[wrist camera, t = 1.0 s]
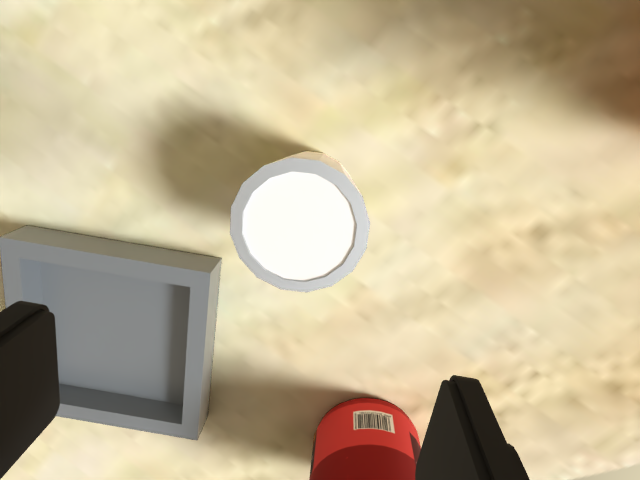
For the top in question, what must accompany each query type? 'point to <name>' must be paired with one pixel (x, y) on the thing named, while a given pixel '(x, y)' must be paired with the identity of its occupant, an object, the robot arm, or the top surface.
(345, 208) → the shot glass
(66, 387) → the tray
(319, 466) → the canned food
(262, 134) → the top surface
